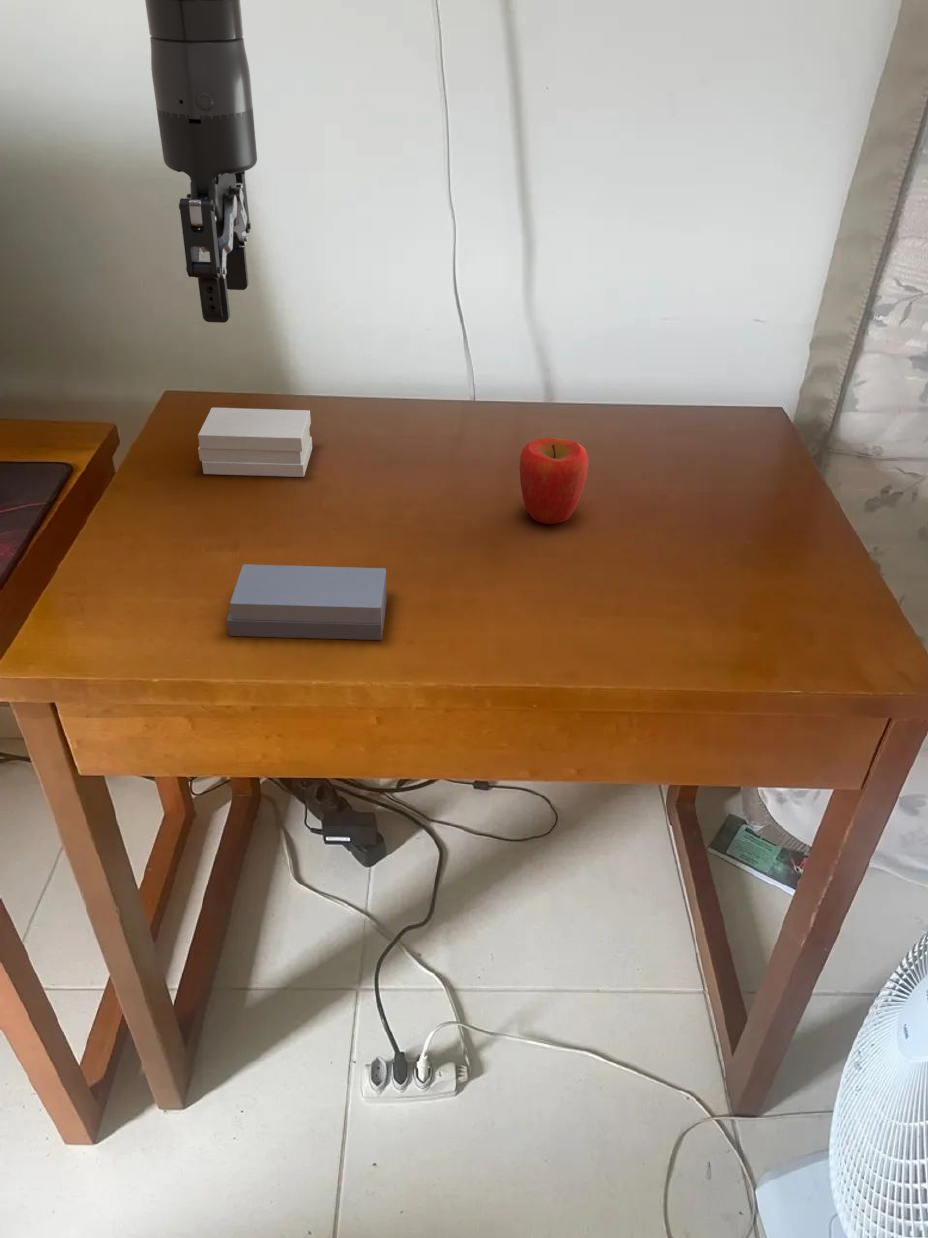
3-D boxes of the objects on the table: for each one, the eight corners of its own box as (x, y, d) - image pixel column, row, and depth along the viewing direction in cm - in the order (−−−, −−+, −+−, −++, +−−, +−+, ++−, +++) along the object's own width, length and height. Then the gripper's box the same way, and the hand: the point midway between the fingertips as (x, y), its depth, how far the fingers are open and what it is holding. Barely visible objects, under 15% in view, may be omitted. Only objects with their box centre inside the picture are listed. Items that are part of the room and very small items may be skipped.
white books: (201, 474, 97) (197, 448, 96) (214, 444, 102) (211, 420, 101) (304, 477, 98) (302, 451, 96) (312, 447, 103) (310, 423, 101)
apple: (562, 494, 96) (569, 424, 92) (594, 525, 92) (603, 452, 87) (505, 506, 94) (509, 435, 90) (534, 538, 90) (540, 465, 85)
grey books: (228, 636, 77) (223, 603, 75) (242, 595, 81) (238, 563, 79) (381, 640, 77) (380, 608, 75) (386, 599, 81) (386, 567, 80)
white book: (199, 448, 96) (197, 434, 95) (213, 420, 101) (211, 407, 100) (302, 451, 96) (301, 437, 95) (310, 423, 101) (309, 410, 100)
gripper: (179, 86, 84) (203, 277, 94) (132, 116, 73) (164, 331, 82) (266, 89, 84) (281, 280, 94) (233, 120, 73) (254, 334, 82)
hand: (227, 304), depth 88 cm, fingers open, 8 cm apart
